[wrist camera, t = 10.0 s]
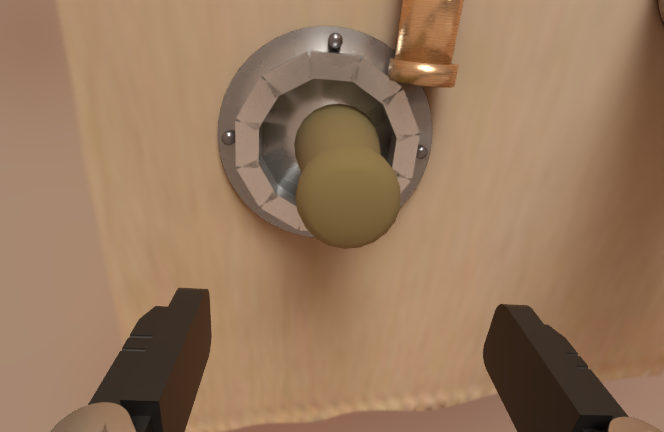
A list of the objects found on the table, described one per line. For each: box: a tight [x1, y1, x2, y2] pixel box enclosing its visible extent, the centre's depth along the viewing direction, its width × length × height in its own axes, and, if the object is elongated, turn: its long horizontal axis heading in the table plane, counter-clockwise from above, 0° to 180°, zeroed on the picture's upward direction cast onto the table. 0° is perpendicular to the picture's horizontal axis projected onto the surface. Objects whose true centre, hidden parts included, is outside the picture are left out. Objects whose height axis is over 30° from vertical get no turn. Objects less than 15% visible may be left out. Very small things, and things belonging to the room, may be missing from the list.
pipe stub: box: [388, 0, 464, 87], centre depth 24 cm, size 8×4×4 cm, turn 176°
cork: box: [294, 104, 400, 249], centre depth 23 cm, size 6×6×11 cm
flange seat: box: [218, 26, 432, 237], centre depth 28 cm, size 15×15×2 cm
